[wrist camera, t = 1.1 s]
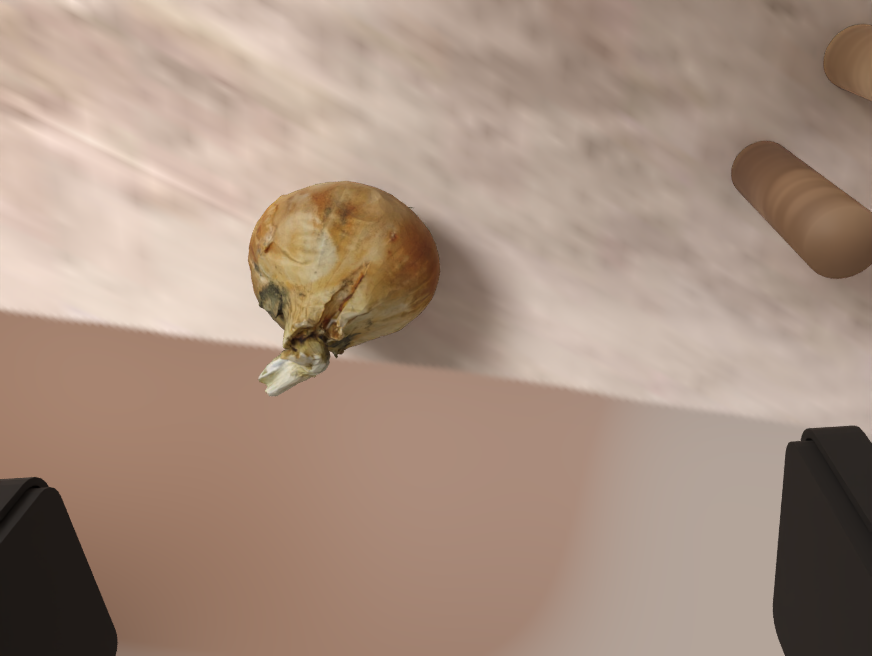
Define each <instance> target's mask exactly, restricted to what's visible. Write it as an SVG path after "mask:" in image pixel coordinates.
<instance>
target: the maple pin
mask: <svg viewBox="0 0 872 656" xmlns="http://www.w3.org/2000/svg"><path fill="white" fill-rule="evenodd" d="M824 70H825V74H826V76H827V77H828V79H829V80H830V81H831V82H832V83H833V84H834V85H836V86H838V87H840V88H843V89H845V90H847V91H849V92H852V93H854V94H856V95H859V96H861V97H863V98H865V99H868V100H870V101H872V25H867V24H859V25H854V26H851V27H848V28H846V29H844V30H843V31H841V32H840V33H839V34H837V35H836V36H835V37H834V38H833V40H832V41H831V42H830V44H829V45H828V47H827V49H826V52H825V56H824Z"/></svg>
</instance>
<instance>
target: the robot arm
mask: <svg viewBox="0 0 872 656" xmlns="http://www.w3.org/2000/svg"><path fill="white" fill-rule="evenodd" d="M773 618H774V624H775V629H776V633H777V636H778V639H779V641H780V644H781V647H782V649H783V652H784V654H785V656H872V443H871V442H870V440H869V439H868V437H867V436H866V435H865V433H864V432H863V431H862V430H861V429H860V428H859V427H857V426H840V427H824V428H808V429H806V430H804V432H803V434H802V438H801V441H796V442H789V443H788V445H787V448H786V455H785V467H784V479H783V490H782V502H781V515H780V526H779V538H778V550H777V562H776V574H775V586H774V597H773ZM116 651H117V634H116V630H115V628H114V625H113V623H112V621H111V618H110V616H109V613H108V611H107V608H106V606H105V603H104V601H103V598H102V596H101V593H100V591H99V589H98V586H97V584H96V581H95V579H94V576H93V574H92V571H91V569H90V567H89V564H88V562H87V559H86V557H85V554H84V552H83V549H82V547H81V544H80V542H79V540H78V537H77V535H76V532H75V530H74V528H73V525H72V522H71V520H70V518H69V515H68V513H67V510H66V508H65V505H64V503H63V500H62V498H61V496H60V494H59V492H58V491H57V490H56V489H55V488H51V487H48V485H47V483H46V482H45V481H44V480H42V479H41V478H37V477H30V478H14V479H0V656H116Z"/></svg>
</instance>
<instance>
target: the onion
mask: <svg viewBox="0 0 872 656" xmlns="http://www.w3.org/2000/svg"><path fill="white" fill-rule="evenodd" d="M409 208H413V207H407V206H406V205H405V204H404V203H402V202H401V201H399V200H398V199H396V198H395V197H394V196H393V195H391V194H389V193H387V192H385V191H382V190H380V189H378V188H375V187H371V186H368V185H364V184H361V183H356V182H349V181H341V182H327V183H321V184H315V185H313V186H309V187H306V188H303V189H301V190H297V191H295V192H292V193H290V194H288V195H282V196H280V197H279V198H278V199H277V200H276V201H275V202H274V203H272V204H271V205H270V206H269V207H268V208H267V209H266V211H265V212H264V214H263V215H262V216H261V218H260V219H259V221H258V222H257V224H256V226H255V228H254V230H253V233H252V237H251V240H250V245H249V255H248V262H249V266H250V270H251V279H252V284H253V289H254V293H255V295H256V297H257V299H258V302H259V306H260V307H261V308H263V309H265V310H266V311H267V312H268V313H269V314H270V316H271V317H272V319H273V320H274V321H276V322H277V323H278V324H279V326H280V327H281V328H282V329H284V330H285V331H284V338H283V348H284V349H286V350H284V351H283V352H282V353H281V354H280V355H279V356H278V357H276V358H274V359H273V361H272V362H271V363H269V364H268V365H267V366H266V368H265V369H264V371H263V372H262V373H261V375H260V376H259V381H260V382H262V383H264V384H266V385H267V389H266V390H265V391H266V393H267V394H268V395H269V396H278V395H279V394H281V393H283V392H284V391H286V390H288V389H290V388H291V387H293V386H295V385H296V384H298V383H300V382H303V381H305V380H307V379H309V378H311V377H316V375H317V374H319V373H321V372H323V371H325V370H326V368H327V367H328V365H329V359H330V352H329V351H331V352H332V353H333V354H334V356H335V357H336V358H337V357H338V356H337V354H343V353H344V350H346V349H347V348H349V347H352V346H356V345H359V344H362V343H364V342H366V341H369V340H373V339H376V338H379V337H380V336H385V335H388V334H391V333H394V332H397V331H399V330H401V329H402V328H404V327H405V326H406V325H407V324H408V323H409V322H410V321H412V320H413V319H414V318H416V317H417V316H418V315H419V314H420V313H421V312H422V311H423V310H424V309H425V308H426V306H427V305H428V304H429V302H430V301H431V300H432V298H433V296H434V293H435V290H436V287H437V284H438V280H439V275H440V263H439V255H438V251H437V247H436V244H435V242H434V240H433V237H432V235H431V233H430V231H429V230H428V229H427V227H426V226H425V225H424V223H423V222H422V221H421V220H420V219H419V217H418V216H417V215H416V214H415V213H414V212H413V211H412V210H411V209H409Z"/></svg>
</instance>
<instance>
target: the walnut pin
mask: <svg viewBox="0 0 872 656" xmlns="http://www.w3.org/2000/svg"><path fill="white" fill-rule="evenodd" d="M731 177H732V181H733V184H734V186H735V187H736V189H737V190H738V191H739V192H740V193H741V194H742V195H743V196H744V197H745V198H746V200H747V201H748V202H749V203H750V204H751V205H752V206H753V207H754V208H755V209H756V210H757V211H758V212H759V213H760V214H761V215H762V217H763V218H764V219H765V220H766V221H767V222H768V223H769V224H770V225H771V226H772V227H773V228H774V229H775V230H776V231H777V232H778V234H779V235H780V236H781V237H782V238H783V239H784V240H785V241H786V242H787V243H788V244H789V245H790V246H791V247H792V248H793V249H794V251H795V252H796V253H797V254H798V255H799V256H800V257H801V258H802V259H803V260H804V261H805V262H806V263H807V264H808V265H809V266H810V267H811V269H813V270H814V271H815V272H816V273H818V274H819V275H821V276H824V277H827V278H834V279H839V278H847V277H850V276H853V275H856V274H858V273H860V272H862V271H863V270H865V269H866V268H868V267H869V266H870V265H871V264H872V212H871V211H869V210H868V209H867V208H865V207H864V206H863V205H861V204H860V203H859V202H857V201H856V200H854V199H853V198H852V197H850V196H849V195H848V194H846V193H845V192H844V191H842V190H841V189H840V188H838V187H837V186H835V185H834V184H833V183H831V182H830V181H829V180H827V179H826V178H825V177H823V176H822V175H821V174H819V173H818V172H816V171H815V170H814V169H812V168H811V167H810V166H808V165H807V164H806V163H804V162H803V161H802V160H800V159H799V158H797V157H796V156H795V155H793V154H792V153H791V152H789V151H788V150H787V149H785V148H784V147H783V146H781V145H780V144H778V143H775V142H771V141H760V142H756V143H753V144H751V145H749V146H747V147H746V148H745V149H743V150H742V151H741V152H740V153H739V154H738V156H737V157H736V159H735V161H734V163H733V166H732V171H731Z"/></svg>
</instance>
